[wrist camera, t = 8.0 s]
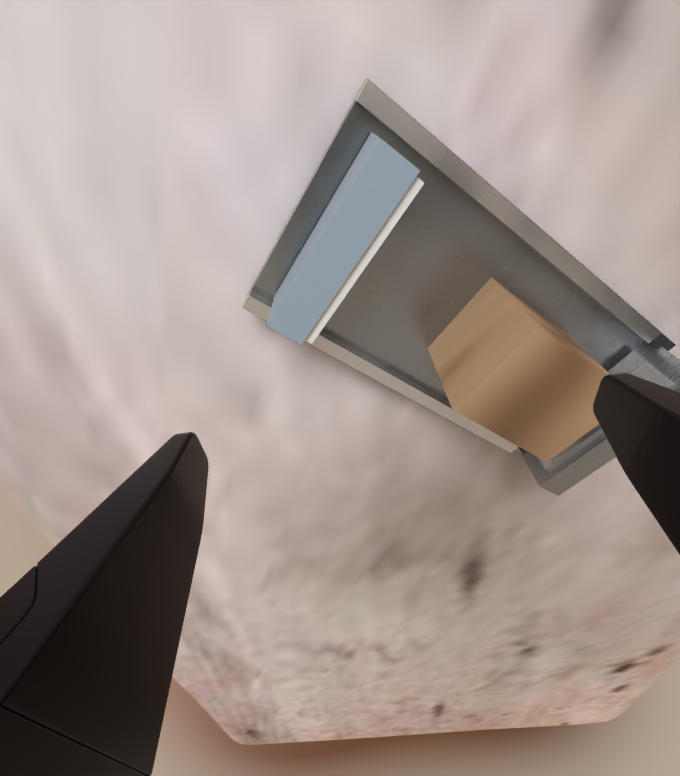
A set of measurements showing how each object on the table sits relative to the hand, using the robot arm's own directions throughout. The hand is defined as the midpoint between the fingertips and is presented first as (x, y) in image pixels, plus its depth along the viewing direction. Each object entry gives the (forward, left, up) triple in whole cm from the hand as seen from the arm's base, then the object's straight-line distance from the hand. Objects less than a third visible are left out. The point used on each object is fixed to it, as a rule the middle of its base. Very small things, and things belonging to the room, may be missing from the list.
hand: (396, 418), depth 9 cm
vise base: (-7, 0, -12) cm, 14 cm away
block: (-9, 0, -11) cm, 14 cm away
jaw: (+1, 0, -11) cm, 11 cm away
